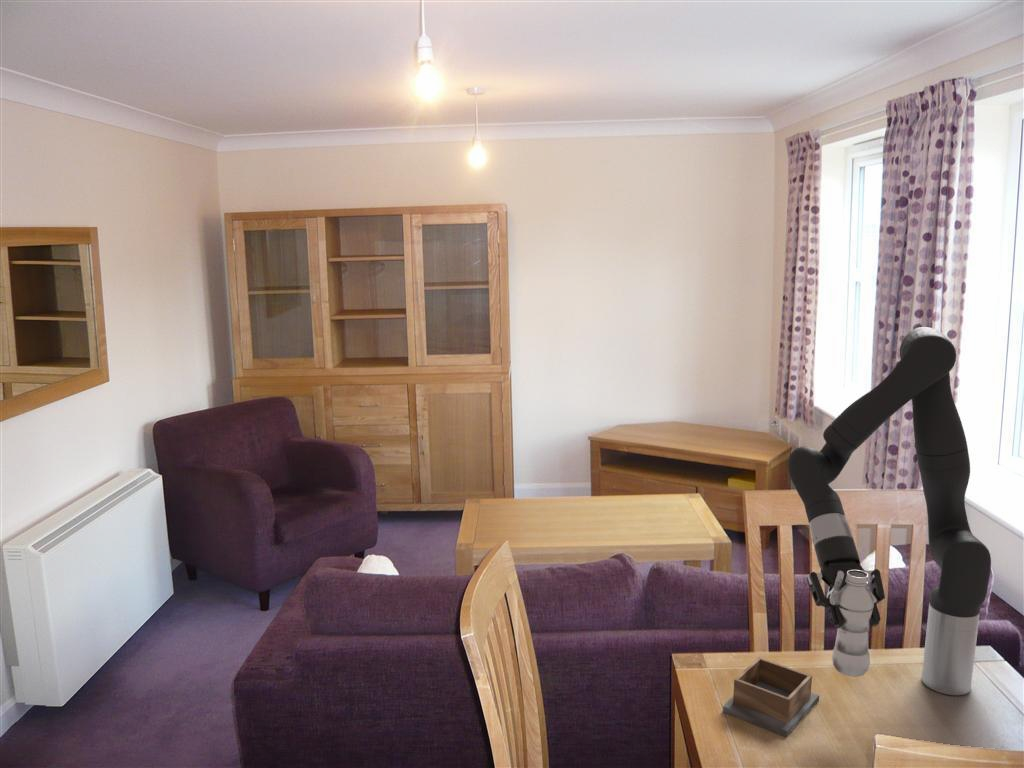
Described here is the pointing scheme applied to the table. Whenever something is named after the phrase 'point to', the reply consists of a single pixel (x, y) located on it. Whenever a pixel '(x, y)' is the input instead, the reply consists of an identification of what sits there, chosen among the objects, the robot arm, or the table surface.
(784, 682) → the bottle holder
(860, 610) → the metal bottle
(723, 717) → the table surface
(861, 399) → the robot arm
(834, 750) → the table surface
